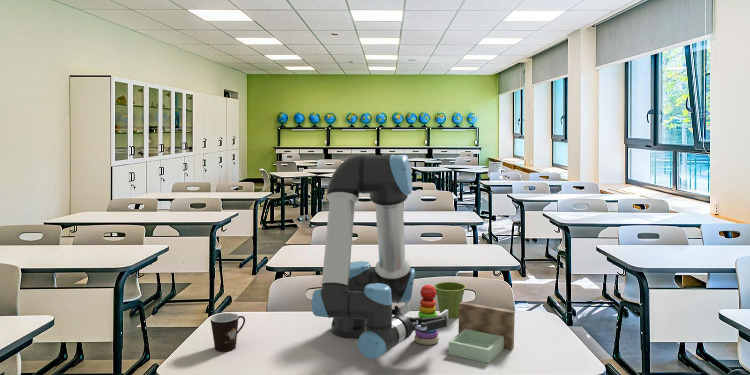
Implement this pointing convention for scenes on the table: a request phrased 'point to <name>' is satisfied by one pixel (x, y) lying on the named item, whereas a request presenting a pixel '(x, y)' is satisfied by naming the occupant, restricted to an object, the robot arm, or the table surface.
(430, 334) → the stacking toy
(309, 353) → the table surface
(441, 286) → the plant pot
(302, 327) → the table surface
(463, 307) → the backstop wall
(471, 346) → the mint green square tray
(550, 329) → the table surface
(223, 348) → the coffee mug
